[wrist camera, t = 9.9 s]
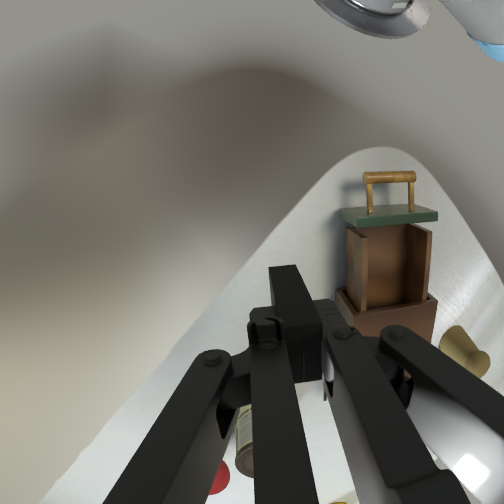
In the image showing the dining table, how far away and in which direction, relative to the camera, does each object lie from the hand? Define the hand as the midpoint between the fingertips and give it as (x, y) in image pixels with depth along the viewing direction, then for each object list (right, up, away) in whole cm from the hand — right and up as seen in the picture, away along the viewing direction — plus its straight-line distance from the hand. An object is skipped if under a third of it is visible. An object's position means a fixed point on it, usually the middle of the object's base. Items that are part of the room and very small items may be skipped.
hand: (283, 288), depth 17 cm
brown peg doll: (+36, -14, +31) cm, 49 cm away
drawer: (+16, +3, +24) cm, 29 cm away
